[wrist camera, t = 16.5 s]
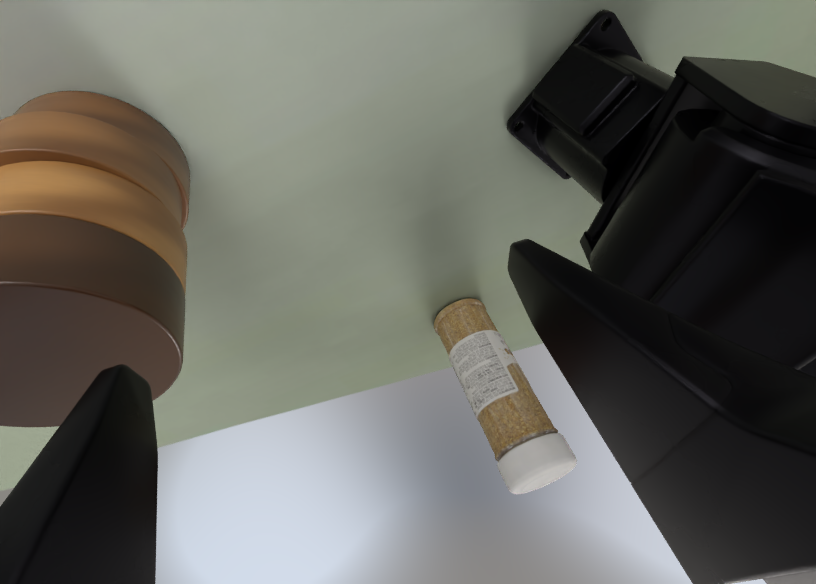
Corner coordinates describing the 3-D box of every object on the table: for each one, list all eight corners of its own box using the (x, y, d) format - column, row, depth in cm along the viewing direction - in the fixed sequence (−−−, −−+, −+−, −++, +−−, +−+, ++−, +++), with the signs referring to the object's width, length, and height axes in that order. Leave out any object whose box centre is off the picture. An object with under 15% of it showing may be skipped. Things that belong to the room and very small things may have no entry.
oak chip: (213, 208, 14) (214, 254, 12) (157, 318, 17) (152, 367, 15) (-36, 119, 10) (-81, 170, 8) (-57, 281, 13) (-94, 342, 11)
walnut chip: (214, 256, 12) (216, 316, 11) (153, 368, 15) (146, 430, 13) (-79, 172, 9) (-143, 248, 7) (-93, 343, 11) (-141, 426, 10)
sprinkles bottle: (487, 316, 34) (579, 472, 26) (439, 339, 34) (514, 502, 26) (477, 286, 31) (581, 456, 22) (424, 312, 31) (506, 490, 22)
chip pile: (213, 136, 17) (214, 204, 14) (164, 242, 20) (157, 318, 17) (9, 41, 13) (-54, 106, 10) (-16, 191, 16) (-71, 278, 13)
